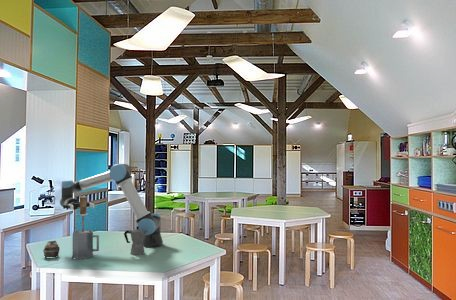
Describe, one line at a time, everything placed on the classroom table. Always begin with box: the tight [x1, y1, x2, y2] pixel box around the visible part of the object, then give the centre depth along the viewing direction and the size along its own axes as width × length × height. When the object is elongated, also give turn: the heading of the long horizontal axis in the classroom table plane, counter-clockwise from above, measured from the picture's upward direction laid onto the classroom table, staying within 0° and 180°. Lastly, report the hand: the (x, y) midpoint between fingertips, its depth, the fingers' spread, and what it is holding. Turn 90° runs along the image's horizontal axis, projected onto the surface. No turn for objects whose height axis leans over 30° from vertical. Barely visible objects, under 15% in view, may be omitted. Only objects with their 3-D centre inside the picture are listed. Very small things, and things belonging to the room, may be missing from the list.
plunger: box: [76, 195, 90, 233], centre depth 250 cm, size 8×8×23 cm
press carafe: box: [71, 229, 100, 260], centre depth 249 cm, size 16×13×16 cm
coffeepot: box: [123, 225, 148, 256], centre depth 257 cm, size 15×9×18 cm, turn 107°
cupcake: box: [43, 240, 60, 258], centre depth 250 cm, size 10×10×10 cm
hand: (83, 206), depth 249 cm, fingers open, 13 cm apart
